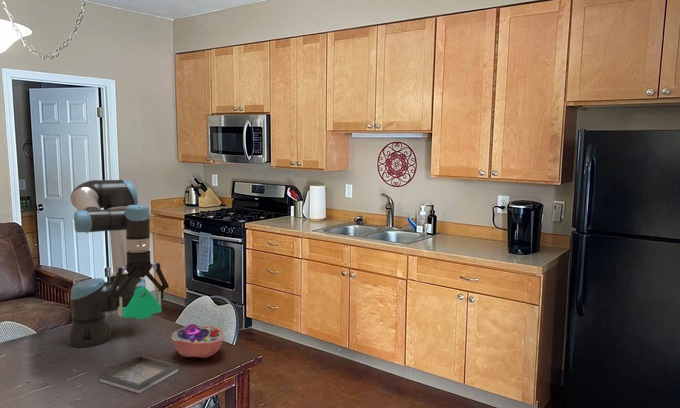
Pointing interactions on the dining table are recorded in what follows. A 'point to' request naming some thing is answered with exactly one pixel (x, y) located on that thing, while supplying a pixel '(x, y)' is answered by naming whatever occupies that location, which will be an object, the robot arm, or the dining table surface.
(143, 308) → the camera mount
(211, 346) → the cell model
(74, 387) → the dining table surface
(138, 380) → the plate
